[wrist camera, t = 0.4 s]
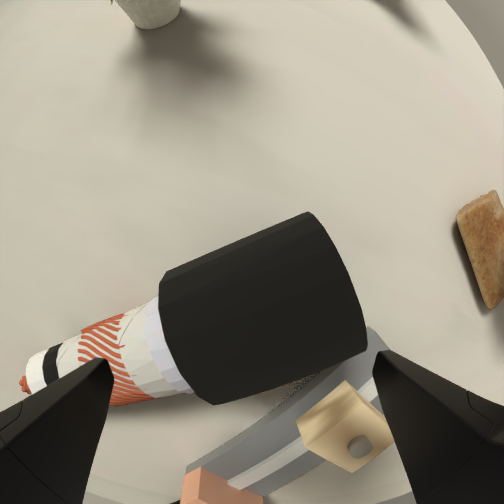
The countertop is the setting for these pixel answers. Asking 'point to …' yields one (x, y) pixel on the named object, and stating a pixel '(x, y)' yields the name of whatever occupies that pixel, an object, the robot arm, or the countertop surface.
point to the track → (276, 440)
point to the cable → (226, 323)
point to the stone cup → (485, 244)
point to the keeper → (345, 429)
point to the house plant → (150, 12)
